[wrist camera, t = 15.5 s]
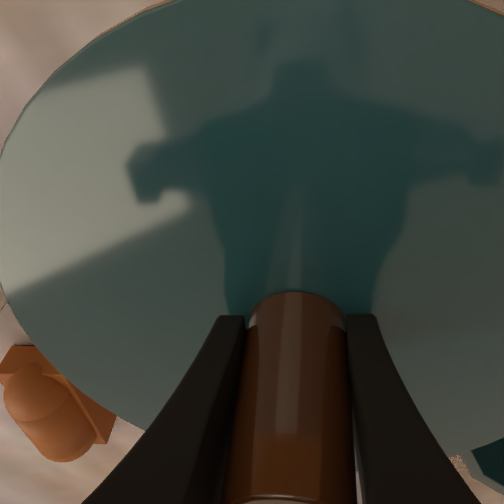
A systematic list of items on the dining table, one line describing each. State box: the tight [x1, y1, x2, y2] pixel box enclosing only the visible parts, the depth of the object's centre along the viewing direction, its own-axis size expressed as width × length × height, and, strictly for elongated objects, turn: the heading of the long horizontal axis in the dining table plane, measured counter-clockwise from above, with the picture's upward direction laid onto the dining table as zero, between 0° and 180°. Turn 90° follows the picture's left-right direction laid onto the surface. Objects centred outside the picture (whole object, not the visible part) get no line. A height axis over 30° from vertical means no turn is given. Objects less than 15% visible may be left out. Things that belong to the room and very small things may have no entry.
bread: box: [0, 346, 117, 462], centre depth 31 cm, size 8×5×4 cm, turn 7°
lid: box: [0, 0, 504, 504], centre depth 11 cm, size 16×16×6 cm
